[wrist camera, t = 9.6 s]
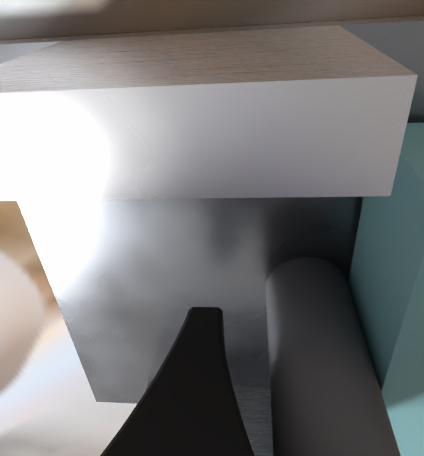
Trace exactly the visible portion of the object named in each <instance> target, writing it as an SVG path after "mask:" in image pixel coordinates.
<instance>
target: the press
mask: <svg viewBox="0 0 424 456" xmlns="http://www.w3.org/2000/svg"><path fill="white" fill-rule="evenodd" d="M407 123H424V16H409V17H392V18H375V19H358V20H341V21H323V22H306V23H289V24H272V25H255V26H238V27H221V28H203V29H186V30H169V31H152V32H135V33H118V34H101V35H83V36H66V37H49V38H32V39H15V40H0V201H18V204H19V206H20V209H21V211H22V214H23V216H24V219H25V221H26V224H27V226H28V229H29V232H30V234H31V237H32V239H33V242H34V244H35V247H36V249H37V252H38V254H39V257H40V259H41V262H42V265H43V267H44V270H45V272H46V275H47V277H48V280H49V282H50V285H51V287H52V290H53V292H54V295H55V298H56V300H57V303H58V305H59V308H60V310H61V313H62V315H63V318H64V320H65V323H66V325H67V328H68V331H69V333H70V336H71V338H72V341H73V343H74V346H75V348H76V351H77V353H78V356H79V358H80V361H81V364H82V366H83V369H84V371H85V374H86V376H87V379H88V381H89V384H90V386H91V389H92V391H93V394H94V397H95V399H96V402H117V403H138V402H139V401H140V399H141V398H142V396H143V395H144V393H145V391H146V390H147V388H148V387H149V385H150V384H151V382H152V380H153V379H154V377H155V376H156V374H157V372H158V370H159V369H160V367H161V365H162V363H163V362H164V360H165V358H166V356H167V355H168V353H169V351H170V349H171V347H172V345H173V343H174V341H175V339H176V338H177V336H178V333H179V331H180V329H181V327H182V325H183V323H184V321H185V318H186V316H187V313H188V311H189V309H191V308H192V307H219V308H220V309H221V310H223V323H224V338H225V353H226V359H227V364H228V368H229V373H230V377H231V381H232V385H233V389H234V393H235V396H236V400H237V403H238V407H239V410H240V413H241V417H242V420H243V423H244V426H245V429H246V432H247V435H248V438H249V441H250V444H251V447H252V450H253V452H254V455H255V456H273V442H272V420H271V398H270V375H269V353H268V330H267V308H266V282H267V279H268V277H269V275H270V274H271V273H272V272H273V270H274V269H275V268H277V267H278V266H279V265H281V264H282V263H284V262H286V261H289V260H292V259H295V258H300V257H317V258H322V259H326V260H328V261H330V262H332V263H334V264H335V265H337V266H338V267H339V268H340V269H341V270H342V271H343V273H344V274H345V276H346V279H347V282H348V280H349V275H350V269H351V264H352V258H353V253H354V247H355V242H356V236H357V231H358V225H359V219H360V214H361V208H362V203H363V197H364V196H391V192H392V187H393V183H394V178H395V174H396V170H397V165H398V161H399V156H400V152H401V147H402V143H403V138H404V134H405V130H406V125H407Z"/></svg>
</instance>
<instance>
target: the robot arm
mask: <svg viewBox="0 0 424 456" xmlns="http://www.w3.org/2000/svg"><path fill="white" fill-rule="evenodd" d="M100 456H255V455H254V452H253V450H252V447H251V444H250V441H249V438H248V435H247V432H246V429H245V426H244V423H243V420H242V417H241V413H240V410H239V407H238V403H237V400H236V396H235V393H234V389H233V385H232V381H231V377H230V373H229V368H228V364H227V359H226V353H225V338H224V323H223V310H221V309H220V308H219V307H192V308H191V309H189V311H188V313H187V316H186V318H185V321H184V323H183V325H182V327H181V329H180V331H179V333H178V336H177V338H176V339H175V341H174V343H173V345H172V347H171V349H170V351H169V353H168V355H167V356H166V358H165V360H164V362H163V363H162V365H161V367H160V369H159V370H158V372H157V374H156V376H155V377H154V379H153V380H152V382H151V384H150V385H149V387H148V388H147V390H146V391H145V393H144V395H143V396H142V398H141V399H140V401H139V402H138V404H137V405H136V407H135V408H134V410H133V411H132V413H131V414H130V416H129V417H128V419H127V420H126V422H125V423H124V424H123V426H122V427H121V429H120V430H119V431H118V433H117V434H116V436H115V437H114V438H113V440H112V441H111V442H110V444H109V445H108V446H107V448H106V449H105V450H104V451H103V453H102V454H101V455H100Z"/></svg>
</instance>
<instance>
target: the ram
mask: <svg viewBox="0 0 424 456" xmlns="http://www.w3.org/2000/svg"><path fill="white" fill-rule="evenodd" d="M266 308H267V330H268V353H269V375H270V398H271V420H272V442H273V456H424V123H407V125H406V130H405V134H404V138H403V143H402V147H401V152H400V156H399V161H398V165H397V170H396V174H395V178H394V183H393V187H392V192H391V196H364V197H363V203H362V208H361V214H360V219H359V225H358V231H357V236H356V242H355V247H354V253H353V258H352V264H351V269H350V275H349V280H348V282H347V279H346V276H345V274H344V273H343V271H342V270H341V269H340V268H339V267H338V266H337V265H335V264H334V263H332V262H330V261H328V260H326V259H322V258H317V257H300V258H295V259H292V260H289V261H286V262H284V263H282V264H281V265H279V266H278V267H277V268H275V269H274V270H273V272H272V273H271V274H270V275H269V277H268V279H267V282H266Z"/></svg>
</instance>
